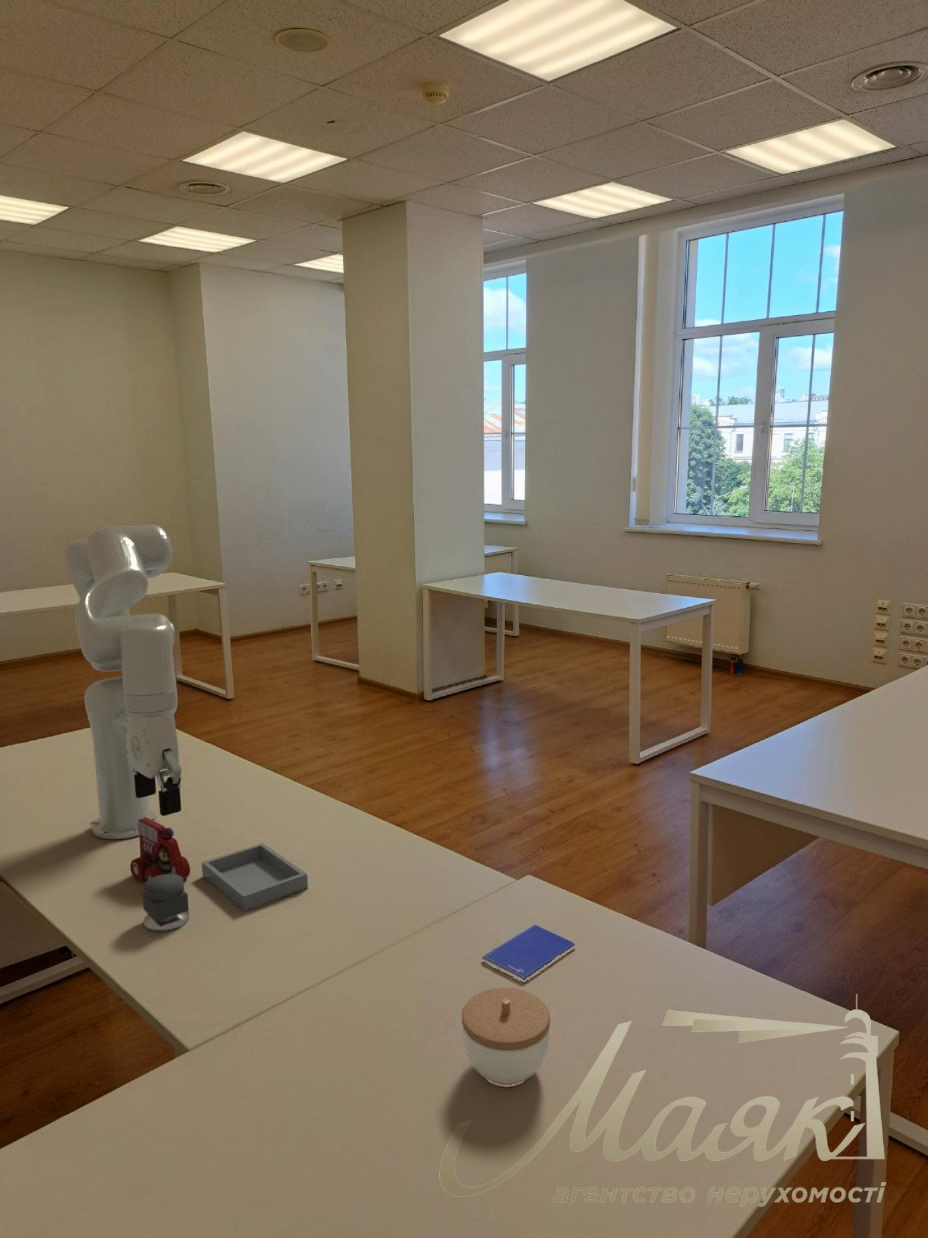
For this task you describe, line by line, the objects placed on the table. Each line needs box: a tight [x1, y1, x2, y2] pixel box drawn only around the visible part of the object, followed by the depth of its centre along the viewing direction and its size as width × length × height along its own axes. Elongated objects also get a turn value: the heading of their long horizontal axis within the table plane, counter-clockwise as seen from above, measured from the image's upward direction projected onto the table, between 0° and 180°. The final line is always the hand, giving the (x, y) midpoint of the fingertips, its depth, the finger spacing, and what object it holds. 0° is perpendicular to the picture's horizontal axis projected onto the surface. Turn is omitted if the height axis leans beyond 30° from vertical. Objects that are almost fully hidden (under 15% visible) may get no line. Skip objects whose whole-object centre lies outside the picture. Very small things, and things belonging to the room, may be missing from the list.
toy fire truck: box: [129, 817, 191, 883], centre depth 154 cm, size 7×12×10 cm, turn 49°
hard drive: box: [481, 924, 576, 980], centre depth 130 cm, size 2×8×12 cm
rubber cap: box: [141, 874, 189, 922], centre depth 139 cm, size 6×6×5 cm
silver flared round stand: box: [143, 911, 190, 933], centre depth 140 cm, size 7×7×5 cm
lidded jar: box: [461, 987, 551, 1085], centre depth 104 cm, size 11×11×9 cm
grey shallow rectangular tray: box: [201, 842, 309, 913], centre depth 153 cm, size 17×12×3 cm
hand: (158, 804), depth 137 cm, fingers open, 9 cm apart
